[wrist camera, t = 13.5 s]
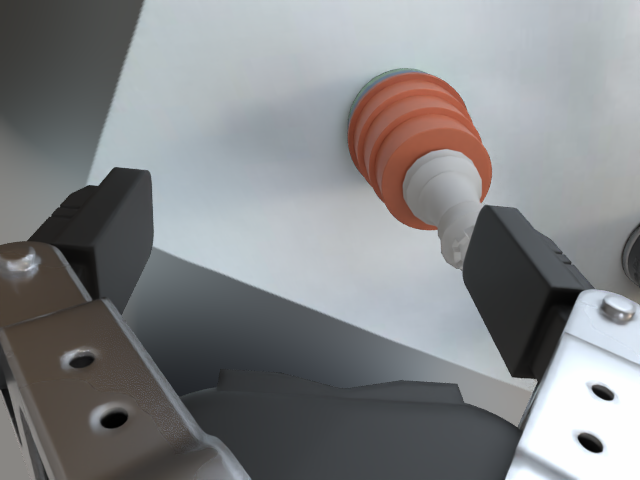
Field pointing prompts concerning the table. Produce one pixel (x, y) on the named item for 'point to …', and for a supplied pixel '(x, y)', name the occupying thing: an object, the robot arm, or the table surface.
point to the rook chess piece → (446, 199)
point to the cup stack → (409, 134)
